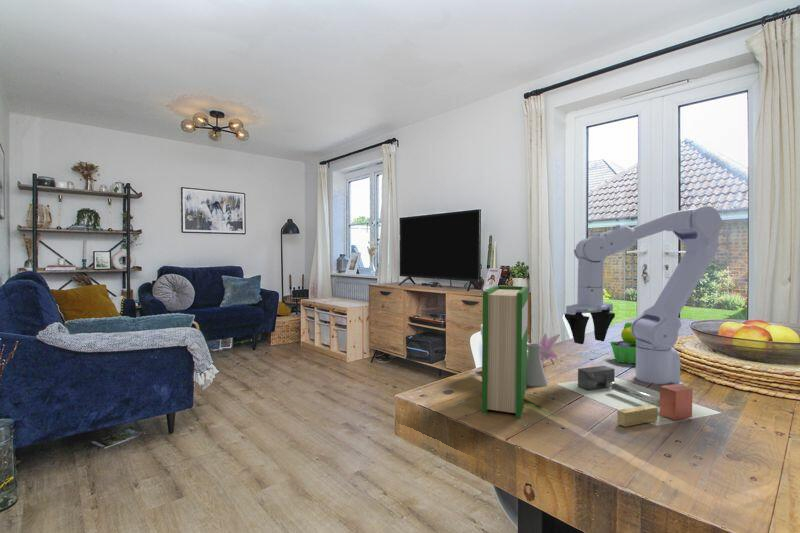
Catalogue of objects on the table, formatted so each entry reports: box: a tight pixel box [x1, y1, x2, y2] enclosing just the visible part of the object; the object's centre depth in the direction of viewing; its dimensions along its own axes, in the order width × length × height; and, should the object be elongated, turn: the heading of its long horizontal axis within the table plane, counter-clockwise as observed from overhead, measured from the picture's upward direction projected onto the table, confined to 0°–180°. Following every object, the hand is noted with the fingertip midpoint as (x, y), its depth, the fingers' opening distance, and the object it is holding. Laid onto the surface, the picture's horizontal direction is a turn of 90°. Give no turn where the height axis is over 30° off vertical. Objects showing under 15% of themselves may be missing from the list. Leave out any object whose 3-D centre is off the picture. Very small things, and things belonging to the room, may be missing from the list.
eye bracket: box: [577, 365, 616, 391], centre depth 92 cm, size 8×3×4 cm, turn 110°
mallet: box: [608, 382, 694, 420], centre depth 81 cm, size 4×16×5 cm, turn 20°
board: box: [556, 376, 722, 427], centre depth 86 cm, size 18×25×1 cm
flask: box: [527, 342, 549, 387], centre depth 96 cm, size 7×7×10 cm
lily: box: [527, 332, 561, 366], centre depth 111 cm, size 12×12×10 cm
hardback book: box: [481, 285, 529, 419], centre depth 86 cm, size 18×7×24 cm, turn 159°
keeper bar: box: [616, 405, 658, 428], centre depth 72 cm, size 8×2×2 cm, turn 110°
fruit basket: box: [609, 321, 636, 364], centre depth 119 cm, size 11×9×11 cm
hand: (589, 342), depth 99 cm, fingers open, 7 cm apart
